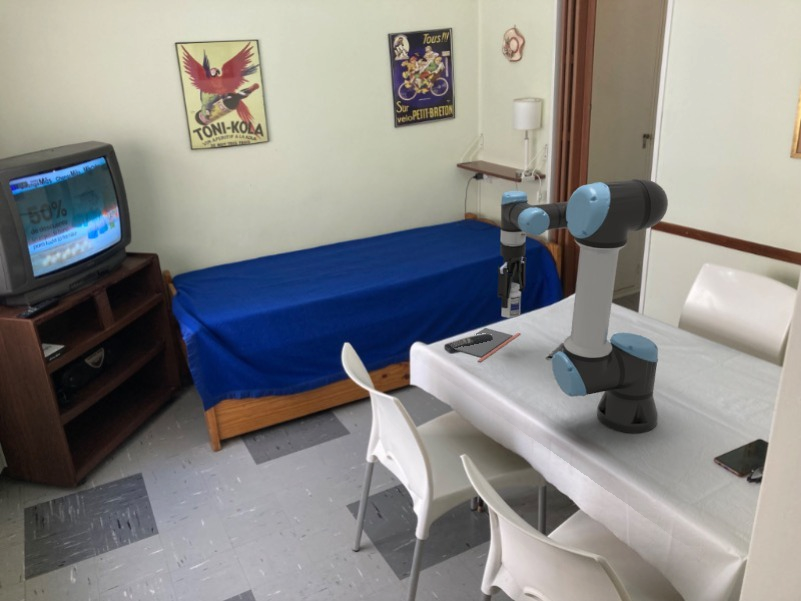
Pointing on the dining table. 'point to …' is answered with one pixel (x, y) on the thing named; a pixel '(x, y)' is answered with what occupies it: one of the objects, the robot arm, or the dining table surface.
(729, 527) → the dining table surface
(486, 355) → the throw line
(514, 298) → the pill bottle
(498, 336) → the mat
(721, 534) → the dining table surface
